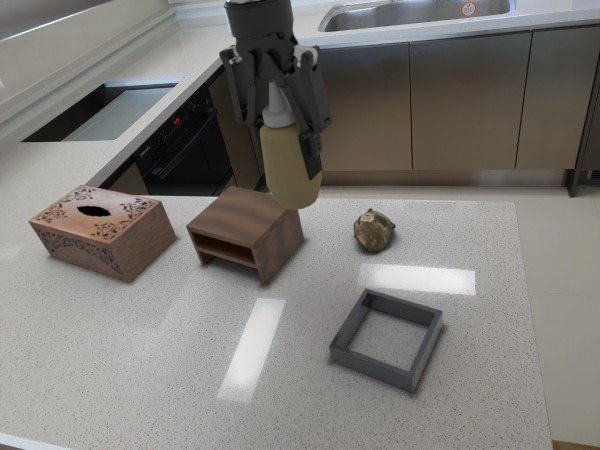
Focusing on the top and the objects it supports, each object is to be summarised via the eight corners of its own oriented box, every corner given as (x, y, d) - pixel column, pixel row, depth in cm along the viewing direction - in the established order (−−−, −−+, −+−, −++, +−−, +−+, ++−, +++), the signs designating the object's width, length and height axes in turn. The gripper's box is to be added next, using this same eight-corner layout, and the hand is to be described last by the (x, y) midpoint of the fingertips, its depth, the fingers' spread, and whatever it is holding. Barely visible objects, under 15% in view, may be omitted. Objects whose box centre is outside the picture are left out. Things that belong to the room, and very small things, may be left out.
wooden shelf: (265, 286, 84) (253, 244, 78) (201, 264, 92) (185, 225, 86) (304, 239, 93) (295, 199, 87) (242, 224, 101) (230, 185, 95)
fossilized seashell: (368, 207, 93) (339, 240, 89) (378, 191, 88) (347, 226, 83) (398, 230, 92) (370, 265, 88) (410, 215, 86) (380, 252, 82)
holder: (413, 393, 62) (412, 378, 60) (331, 361, 69) (328, 346, 67) (442, 326, 70) (442, 310, 68) (367, 302, 77) (365, 288, 74)
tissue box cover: (177, 238, 101) (161, 200, 95) (130, 282, 91) (109, 244, 85) (99, 218, 113) (81, 184, 107) (50, 256, 103) (27, 221, 97)
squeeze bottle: (307, 220, 63) (282, 96, 52) (261, 209, 67) (228, 92, 57) (335, 189, 68) (317, 69, 57) (290, 180, 72) (266, 67, 62)
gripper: (348, -21, 48) (366, 167, 62) (212, -11, 58) (254, 149, 72) (311, -1, 44) (340, 197, 58) (171, 6, 54) (224, 174, 67)
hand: (292, 170), depth 65 cm, fingers closed on squeeze bottle, 6 cm apart
